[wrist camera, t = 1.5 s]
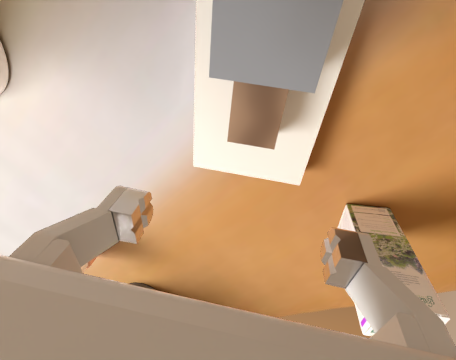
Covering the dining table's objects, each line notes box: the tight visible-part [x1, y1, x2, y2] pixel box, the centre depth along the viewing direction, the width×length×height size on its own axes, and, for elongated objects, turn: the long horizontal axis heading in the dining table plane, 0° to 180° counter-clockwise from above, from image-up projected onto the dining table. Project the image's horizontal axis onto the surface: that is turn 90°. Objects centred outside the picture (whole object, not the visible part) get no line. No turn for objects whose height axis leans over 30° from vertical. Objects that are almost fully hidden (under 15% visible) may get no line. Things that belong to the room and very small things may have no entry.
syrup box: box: [338, 204, 450, 336], centre depth 28 cm, size 6×6×14 cm
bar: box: [227, 81, 289, 150], centre depth 20 cm, size 4×15×4 cm, turn 174°
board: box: [193, 0, 365, 185], centre depth 21 cm, size 13×24×8 cm, turn 174°
